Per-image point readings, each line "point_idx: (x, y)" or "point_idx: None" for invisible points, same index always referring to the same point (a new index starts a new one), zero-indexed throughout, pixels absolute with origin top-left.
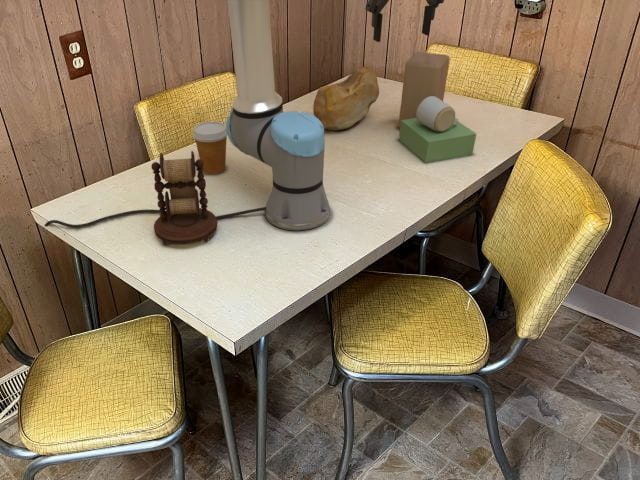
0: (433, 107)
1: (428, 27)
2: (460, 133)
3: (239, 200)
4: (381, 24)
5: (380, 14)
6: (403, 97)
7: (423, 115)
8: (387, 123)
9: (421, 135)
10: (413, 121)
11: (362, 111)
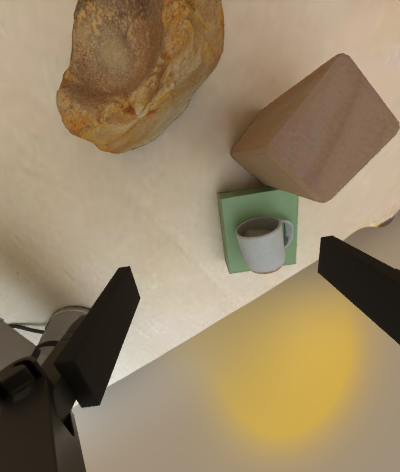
0: (254, 261)
1: (340, 288)
2: None
3: (18, 300)
4: (118, 351)
5: (85, 406)
6: (243, 155)
7: (240, 248)
8: (221, 123)
9: (228, 255)
10: (237, 208)
11: (176, 112)
